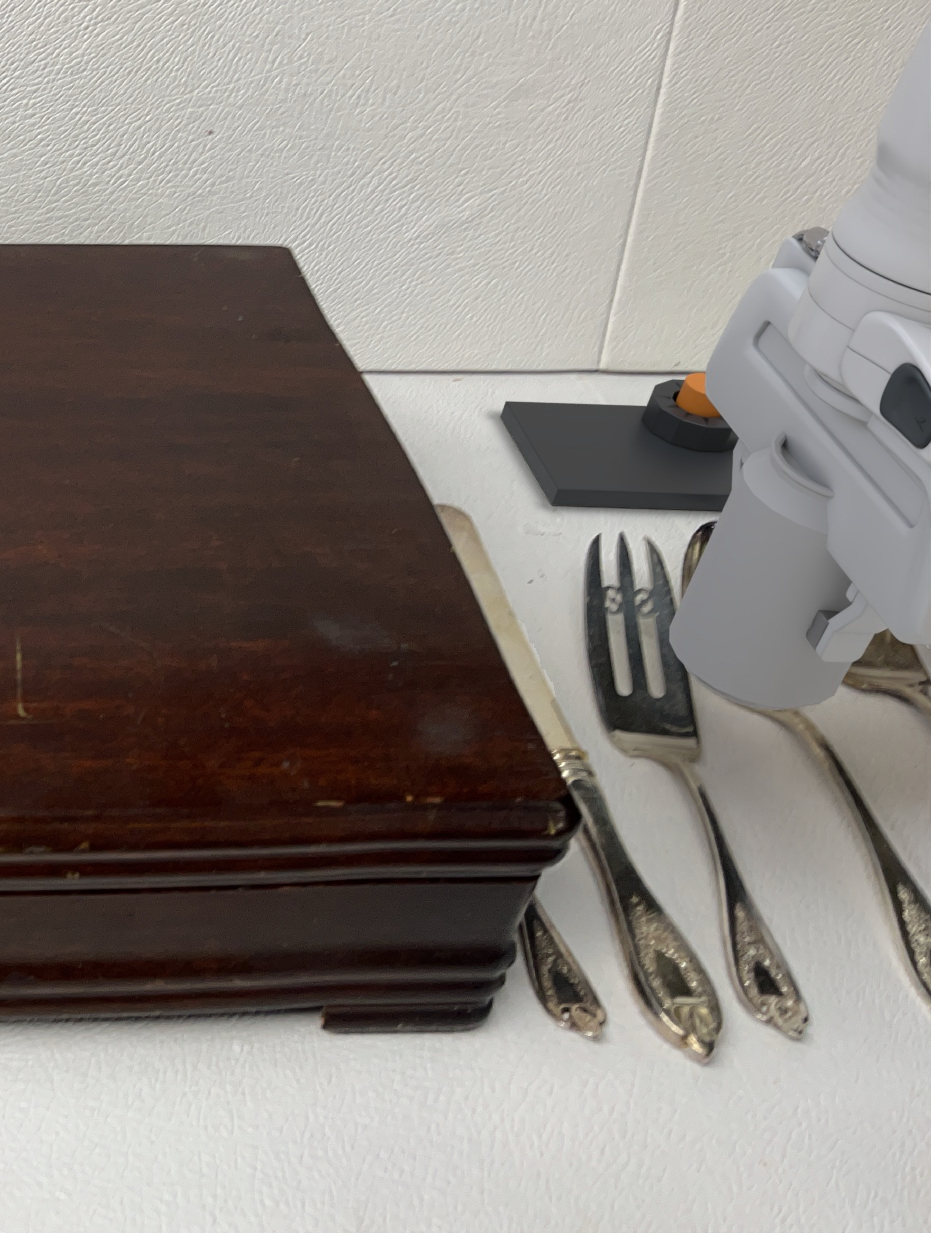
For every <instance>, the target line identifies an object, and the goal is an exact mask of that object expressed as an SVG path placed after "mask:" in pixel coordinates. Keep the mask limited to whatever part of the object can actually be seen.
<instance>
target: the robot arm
mask: <svg viewBox="0 0 931 1233" xmlns="http://www.w3.org/2000/svg"><path fill="white" fill-rule="evenodd" d="M705 373H706V375H705V394H706V396H707V398H708V399H709V401H710V402H711V403H712V404H713V406H714V407H715V408H716V409H717V411H718V412H719V413H720V415H721V416H722V417H723V418H724V420H725V421H726V422H727V423H728V425H729V426H730V427H731V428H732V430H733V431H734V432H735V434H736V435H737V436H738V437H739V439H738V441H737V444H736V446H735V448H734V450H733V468H732V489H733V486H734V484H735V482H736V480H737V478H738V475H739V473H740V471H741V469H742V467H743V465H744V463H745V462H746V461H747V459H748V458H749V457H750V455H751V454H753V453H755V452H757V451H760V450H762V449H765V448H768V447H770V443H771V441H772V440H773V439H774V437H775V436H776V435H777V433H779V432H782V431H783V432H784V433H785V434H786V439H785V442H784V444H783V446H784V448H785V449H786V450H787V451H788V453H789V454H790V455H791V456H792V457H793V459H794V460H795V461H796V462H797V464H798V465H799V466H800V467H801V468H802V470H803V471H804V472H805V473H806V475H807V476H808V477H809V478H810V479H811V480H812V481H814V482H816V483H817V484H819V485H821V486H824V487H827V488H829V489H831V490H832V491H833V492H834V498H830V499H829V500H828V502H827V520H828V536H827V540H826V545H825V547H826V549H827V551H828V552H829V553H830V555H831V556H832V557H833V558H834V560H835V561H836V562H837V564H838V565H839V566H840V567H841V569H842V570H843V571H844V572H845V574H846V575H847V576H848V578H849V579H850V580H851V581H852V583H851V585H850V586H849V588H848V590H847V592H846V597H847V599H848V600H849V601H850V602H853V603H852V605H850V606H849V607H847V608H846V609H844V610H843V611H841V612H838V611H827V610H818V612H817V614H816V616H815V618H814V620H813V622H812V628H810V629H808V631H807V633H806V638H807V640H808V641H809V643H810V644H811V646H812V647H813V648H814V650H815V651H816V652H817V654H818V655H819V657H820V659H821V660H823V661H824V662H834V663H850V662H852V663H854V662H856V661H858V660H860V659H861V658H862V656H863V655H864V653H865V652H866V650H867V648H868V647H869V645H870V643H871V641H872V640H873V638H874V636H875V634H879V633H881V632H883V631H886V630H889V632H890V633H891V634H892V635H893V636H894V637H895V639H896V640H898V641H899V642H901V643H904V644H906V645H907V644H908V645H915V646H931V16H930V17H929V18H928V20H927V22H926V24H925V26H924V28H923V30H922V32H921V33H920V35H919V36H918V39H917V41H916V43H915V45H914V47H913V48H912V51H911V53H910V54H909V57H908V59H907V61H906V63H905V64H904V67H903V69H902V71H901V73H900V75H899V77H898V80H897V82H896V83H895V85H894V88H893V90H892V93H891V95H890V97H889V99H888V101H887V103H886V105H885V108H884V110H883V113H882V115H881V118H880V119H879V124H878V127H877V134H876V146H875V151H874V156H873V160H872V164H871V167H870V168H869V170H868V173H867V175H866V177H865V178H864V180H863V182H862V184H861V185H860V186H859V188H858V189H857V191H856V192H854V194H852V196H851V197H850V198H849V200H847V202H846V203H845V204H844V205H843V207H842V208H841V209H840V211H839V212H838V214H837V216H836V217H835V220H834V222H833V223H832V226H831V228H830V230H828V229H827V228H825V227H822V226H814V227H811V228H809V229H808V228H807V229H802V230H800V231H797V232H796V233H794V234H793V235H792V236H789V237H786V238H785V239H784V241H783V242H782V243H781V245H780V246H779V248H778V250H777V253H776V255H775V258H774V260H773V262H772V264H771V267H770V268H768V269H766V270H764V271H761V273H759V274H758V275H757V276H756V277H755V279H753V281H751V284H750V285H749V286H748V287H747V289H746V290H745V292H744V293H743V295H742V297H741V298H740V300H739V301H738V304H737V305H736V307H735V309H734V310H733V312H732V314H731V316H730V318H729V320H728V322H727V323H726V324H725V327H724V329H723V330H722V333H721V335H720V336H719V338H718V340H717V342H716V344H715V347H714V349H713V350H712V353H711V355H710V357H709V359H708V361H707V364H706V368H705Z"/></svg>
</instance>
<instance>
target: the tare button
mask: <svg viewBox="0 0 931 1233" xmlns="http://www.w3.org/2000/svg"><path fill="white" fill-rule="evenodd" d="M705 375H706V372H693V373H690V374H688V375H687V376H685V378H684V380H685V381H684V383H683V385H682V388H681V390H680V392H679V395H678V397H677V399H676V404H677V405H678V406H679V407H681V408H682V409H684V410H686V411H688V412H689V413H692V414H695V415H699V416H703V417H717V418H720V417H721V415H720V413H719V412H718V411H717V409H716V408H715V407H714V406H713V404H712V403H711V402H710V401H709V399H708V398H707V396H706V394H705Z"/></svg>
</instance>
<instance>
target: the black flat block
mask: <svg viewBox="0 0 931 1233" xmlns="http://www.w3.org/2000/svg"><path fill="white" fill-rule="evenodd" d="M684 381H685V379H668V380H666V381H663V382H660V383H657V384H655V385H654V386H653V389H652V391H651V394H650V396H649V399H648V401H647V404H646V405H635V404H631V405H630V404H606V403H605V404H602V403H572V402H570V403H569V402H541V401H515V400H514V401H513V400H510V401H509V400H506V401H505V402H504V405H503V408H502V410H501V414H500V418H501V420H502V422H503V423H504V425H505V427H506V428H507V430H508V432H509V434H510V435H511V437H512V439H513V440H514V442H515V444H516V446H517V447H518V449H519V451H520V453H521V455H522V456H523V458H524V459H525V461H526V463H527V465H528V466H529V468H530V470H531V471H532V473H533V475H534V477H535V478H536V480H537V481H538V484H539V485H540V487H541V489H542V491H543V492H544V494H545V495H546V497H547V499H548V500H549V502H550V504H551V505H552V506H567V507H597V508H598V507H599V508H600V507H601V508H626V509H627V508H630V509H662V510H663V509H664V510H691V511H692V510H693V511H723V508H724V506H725V504H726V502H727V500H728V497H729V495H730V493H731V491H732V468H733V450H734V448H735V446H736V444H737V441H738V439H739V437H738V436H737V435H736V434H735V432H734V431H733V430H732V428H731V427H730V426H729V425H728V423H727V422H726V421H725V420H724V418H723V417H722V416H721V417H720V418H717V417H703V416H699V415H695V414H692V413H689V412H688V411H686V410H684V409H682V408H681V407H679V406H678V405H677V404H676V399H677V397H678V395H679V392H680V390H681V388H682V385H683V383H684Z"/></svg>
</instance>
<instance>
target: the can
mask: <svg viewBox="0 0 931 1233" xmlns="http://www.w3.org/2000/svg"><path fill="white" fill-rule="evenodd" d="M785 439H786V434H785V433H784V432H783V431H782V432H779V433H777V435H776V436H775V437H774V439H773V440H772V441H771V443H770V447H768V448H765V449H762V450H760V451H757V452H755V453H753V454H751V455H750V457H749V458H748V459H747V461H746V462H745V463H744V465H743V467H742V469H741V471H740V473H739V475H738V478H737V480H736V482H735V484H734V486H733V489H732V491H731V493H730V495H729V497H728V500H727V502H726V504H725V506H724V508H723V511H722V512H720V515H719V517H718V520H717V522H716V524H715V526H714V528H713V530H712V533H711V534H710V537H709V539H708V542H707V543H706V546H705V548H704V550H703V552H702V554H701V557H700V559H699V561H698V563H697V566H696V568H695V570H694V572H693V574H692V577H691V578H690V581H689V583H688V585H687V587H686V590H685V592H684V594H683V596H682V599H681V601H680V603H679V605H678V607H677V610H676V612H675V614H674V616H673V618H672V621H671V623H670V625H669V633H668V638H669V639H668V641H669V644H670V646H671V648H672V650H673V652H674V654H675V655H676V658H677V659H678V660H679V661H680V662H681V663H682V664H683V666H684V668H685V671H687V673H689V675H690V676H691V677H692V678H693V679H694V680H695V681H696V682H697V683H698V684H700V685H701V686H703V687H704V688H705V689H707V690H708V691H710V692H712V693H713V694H714V695H716V696H719V697H721V698H723V699H724V700H725V699H726V700H728V701H730V702H732V703H735V704H737V705H741V706H745V707H749V708H753V709H758V710H765V711H766V710H769V711H784V710H790V709H799V708H805V707H812V706H816V705H820V704H822V703H823V702H825V701H827V700H829V699H831V698H832V697H834V696H835V695H836V693H837V691H838V689H839V687H840V685H841V684H842V682H843V681H844V678H845V676H846V675H847V673H848V672H849V670H850V667H851V666H852V664H853V662H850V663H834V662H824V661H823V660H821V659H820V657H819V655H818V654H817V652H816V651H815V650H814V648H813V647H812V646H811V644H810V643H809V641H808V640H807V638H806V633H807V631H808V629H810V628H812V622H813V620H814V618H815V616H816V614H817V612H818V610H827V611H838V612H841V611H843V610H844V609H846V608H847V607H849V606H850V605H852V603H853V602H850V601H849V600H848V599H847V597H846V592H847V590H848V588H849V586H850V585H851V583H852V581H851V580H850V579H849V578H848V576H847V575H846V574H845V572H844V571H843V570H842V569H841V567H840V566H839V565H838V564H837V562H836V561H835V560H834V558H833V557H832V556H831V555H830V553H829V552H828V551H827V549H826V547H825V545H826V540H827V536H828V520H827V502H828V500H829V499H830V498H834V492H833V491H832V490H831V489H829V488H827V487H824V486H821V485H819V484H817V483H816V482H814V481H812V480H811V479H810V478H809V477H808V476H807V475H806V473H805V472H804V471H803V470H802V468H801V467H800V466H799V465H798V464H797V462H796V461H795V460H794V459H793V457H792V456H791V455H790V454H789V453H788V451H787V450H786V449H785V448H784V446H783V444H784V442H785Z"/></svg>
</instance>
